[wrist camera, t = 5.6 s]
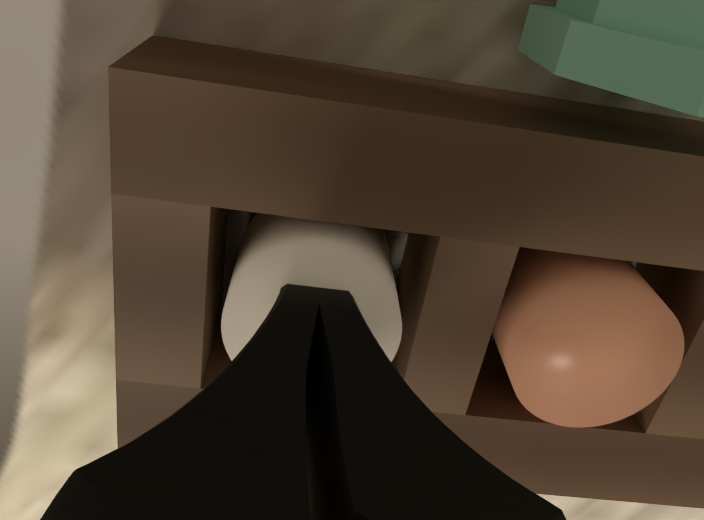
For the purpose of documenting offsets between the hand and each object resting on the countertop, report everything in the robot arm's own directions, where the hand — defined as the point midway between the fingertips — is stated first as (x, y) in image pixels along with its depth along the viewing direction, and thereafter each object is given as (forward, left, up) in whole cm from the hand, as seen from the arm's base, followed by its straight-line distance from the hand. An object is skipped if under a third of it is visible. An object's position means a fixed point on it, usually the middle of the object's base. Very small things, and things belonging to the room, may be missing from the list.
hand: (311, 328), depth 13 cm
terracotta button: (0, -6, -3) cm, 7 cm away
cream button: (0, 0, -3) cm, 3 cm away
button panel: (0, -6, -3) cm, 7 cm away
